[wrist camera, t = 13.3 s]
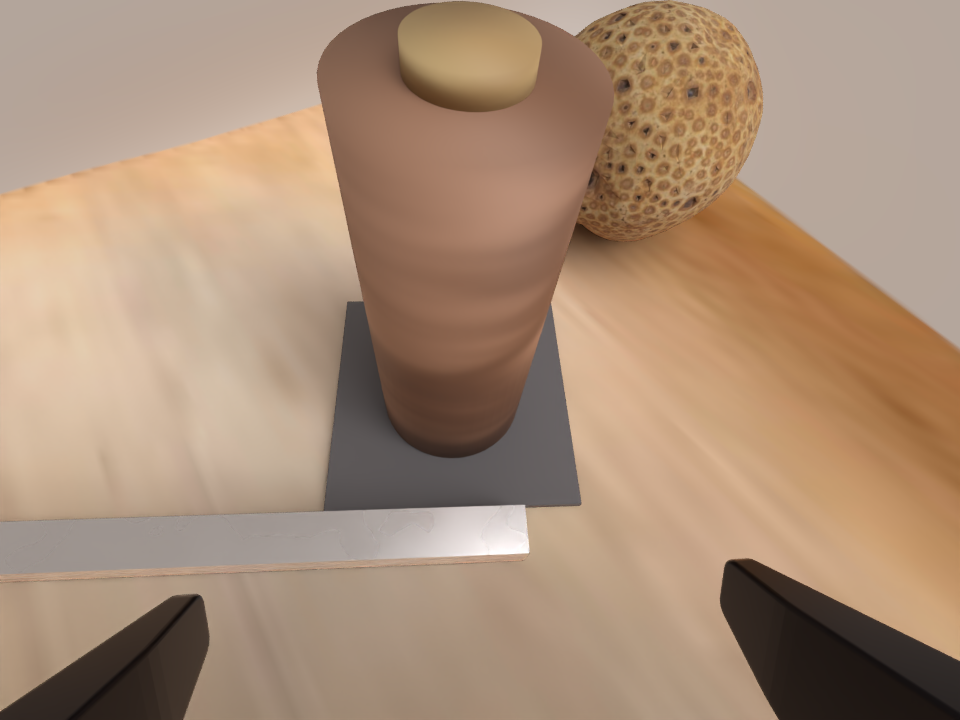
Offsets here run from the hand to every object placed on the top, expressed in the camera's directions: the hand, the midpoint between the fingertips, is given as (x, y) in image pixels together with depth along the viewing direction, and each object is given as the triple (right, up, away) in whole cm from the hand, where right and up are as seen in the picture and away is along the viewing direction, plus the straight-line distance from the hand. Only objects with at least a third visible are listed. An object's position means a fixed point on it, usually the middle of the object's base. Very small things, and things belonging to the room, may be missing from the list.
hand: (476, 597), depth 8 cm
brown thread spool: (-1, +3, +11) cm, 11 cm away
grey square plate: (-1, +3, +11) cm, 12 cm away
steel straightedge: (-8, -2, +8) cm, 11 cm away
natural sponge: (+6, +11, +17) cm, 21 cm away
